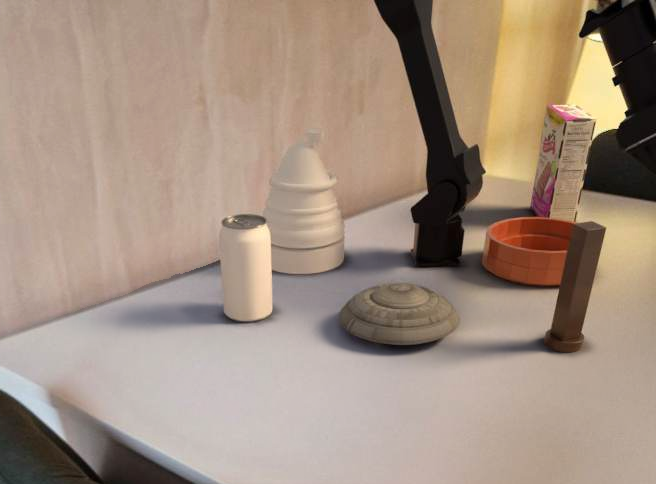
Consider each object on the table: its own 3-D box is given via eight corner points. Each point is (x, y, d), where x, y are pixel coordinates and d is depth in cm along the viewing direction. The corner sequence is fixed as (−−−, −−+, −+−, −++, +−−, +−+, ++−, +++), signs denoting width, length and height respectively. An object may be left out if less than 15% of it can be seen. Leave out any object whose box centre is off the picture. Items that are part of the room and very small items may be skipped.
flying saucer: (317, 317, 99) (318, 276, 96) (415, 296, 104) (419, 256, 101) (376, 364, 89) (379, 320, 85) (482, 338, 93) (489, 295, 90)
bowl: (496, 290, 105) (501, 254, 102) (471, 251, 117) (475, 218, 114) (609, 287, 105) (618, 250, 102) (572, 248, 117) (579, 215, 114)
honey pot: (351, 247, 120) (356, 122, 109) (334, 277, 111) (337, 142, 100) (273, 242, 123) (270, 119, 112) (249, 270, 114) (243, 139, 103)
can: (236, 327, 98) (231, 232, 90) (216, 309, 102) (209, 218, 95) (281, 316, 100) (279, 223, 93) (259, 300, 105) (255, 209, 97)
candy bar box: (527, 208, 134) (545, 104, 124) (556, 207, 134) (576, 103, 124) (544, 228, 125) (565, 118, 115) (575, 228, 125) (599, 117, 115)
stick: (536, 339, 93) (560, 222, 84) (567, 334, 94) (593, 217, 85) (558, 355, 89) (585, 234, 81) (590, 348, 90) (620, 228, 82)
